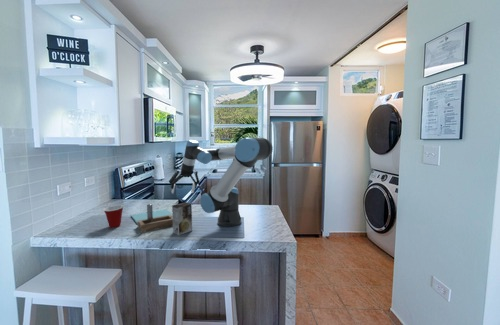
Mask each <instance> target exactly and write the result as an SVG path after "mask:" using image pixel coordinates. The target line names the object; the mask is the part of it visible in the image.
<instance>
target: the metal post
mask: <svg viewBox="0 0 500 325" xmlns="http://www.w3.org/2000/svg"><path fill="white" fill-rule="evenodd" d="M153 208H154V207H153V204H152V203H148V204H146V212H147V221H148V223H151V222H153V211H154V209H153Z"/></svg>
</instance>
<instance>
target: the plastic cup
mask: <svg viewBox="0 0 500 325" xmlns="http://www.w3.org/2000/svg"><path fill="white" fill-rule="evenodd" d="M123 208H124V205H122V204H117V205H112V206H111V205H110V206H107V207H105V208H103V209H102V210H103V212H104V213H105V216H106V219H107V224H108V227H109V228H110V229H113V228H114V229H115V227H116V228H119V227H121V224H122V217H123V216H122V215H123V210H124V209H123Z"/></svg>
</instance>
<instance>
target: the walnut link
mask: <svg viewBox="0 0 500 325" xmlns="http://www.w3.org/2000/svg"><path fill="white" fill-rule="evenodd" d="M167 227H173V216H172V215H166V216H161V217H155V218H153V222H151V223H148V221H147V219H145V220H139V221H138V224H137V228H138V230H139V231H140V232H141V233H146V232H151V231H154V230H159V229H164V228H167Z"/></svg>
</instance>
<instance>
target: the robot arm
mask: <svg viewBox="0 0 500 325" xmlns="http://www.w3.org/2000/svg"><path fill="white" fill-rule="evenodd" d="M272 153H273V145H272V142H271V141H270V140H269V139H267V138H264V137H251V136H249V137H244V138H240V139H239V140H238V141H237V143H236V144H235V146H227V147H221V148H206V149H205V148H202V147H200V142H199V141H198V140H194V139H189V140H187V141H186V145H185V149H184V156H183V159H182V160H183V161H182V165H181V169H178V168H177V169H176V170H175V173H174V174H173V175H172V176H171V178H170V179H169V180H168V182H169V184H170V189H171V194H172V195H174V194H175V188H176V183H177V182H178V181H179V180H181V179H182V178H190V179H191V180H192V181H193V183H192V186H191V191H190V192H191V194H194V193H195V189H196V188H197V186H198V185H200V178H199V175H198V173H199V172H198V171H197V170H196V169H195V164H196V160H197V161H198V162H199V163H201V164H204V165H208V164H209V163H210V162H213V161H224V160H233V161H232V162H231V163H230V165H229V167H228V168H227V169H226V171H225V172H224V173H223V175H222V176H221V178H220V179H219V180H218V182H217V184H216V185H212V186H211V187H210V189H209V190H208V192H205V193H203V194H201V196H200V198H199V203H200V207H201V209H202V210H203V211H204V212H205V213H206V214H212V213H215V212H218V211H219V214H218V218H217V224H218V225H219V226H223V227H236V226H239V225H241V224H242V217H241V215H240V211H239V208H240V207H239V203H240V202H239V200H240V198H239V196H240V194H239V189H238V187H235V186H236V185H237V183H238V182H239V180H240V179H241V178H242V177H243V175H244V174H245V173H246V171H247V170H248V169H252V168H253V167H254V166H255V165H256V164H257V162H258V161H263V160H266V159H268V158H270V157H271V155H272ZM193 174H194V176H195V179H194V177H193Z"/></svg>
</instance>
